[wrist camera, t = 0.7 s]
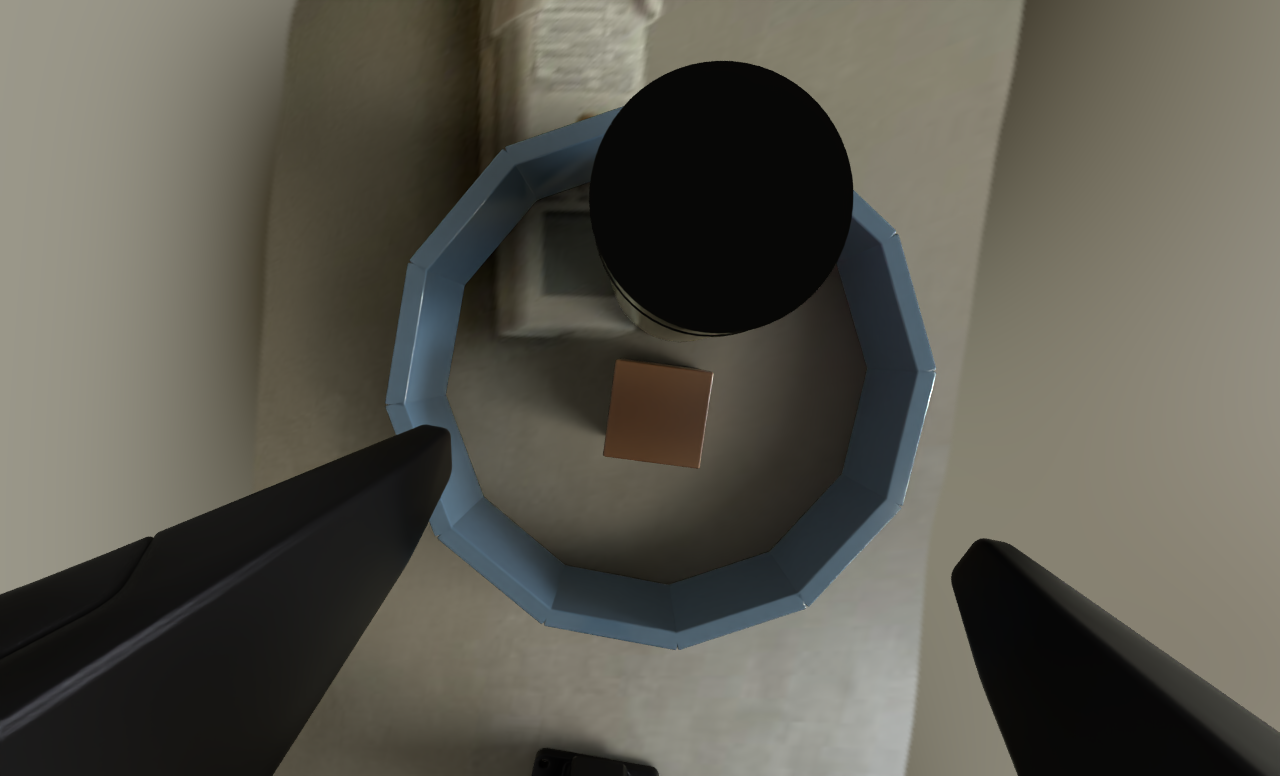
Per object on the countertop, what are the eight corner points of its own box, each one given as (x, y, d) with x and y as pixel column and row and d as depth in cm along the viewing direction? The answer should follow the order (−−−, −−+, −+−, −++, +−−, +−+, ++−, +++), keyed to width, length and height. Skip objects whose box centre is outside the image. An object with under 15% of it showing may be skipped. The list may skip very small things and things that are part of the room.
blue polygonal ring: (819, 627, 23) (858, 684, 19) (403, 549, 23) (354, 591, 19) (922, 206, 22) (987, 173, 18) (477, 109, 21) (441, 52, 17)
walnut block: (688, 448, 22) (699, 469, 18) (608, 438, 22) (602, 456, 18) (699, 368, 22) (714, 372, 18) (618, 358, 22) (615, 359, 18)
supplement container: (656, 369, 22) (676, 384, 12) (583, 250, 22) (535, 153, 11) (775, 297, 22) (902, 245, 11) (703, 174, 21) (769, 4, 11)
